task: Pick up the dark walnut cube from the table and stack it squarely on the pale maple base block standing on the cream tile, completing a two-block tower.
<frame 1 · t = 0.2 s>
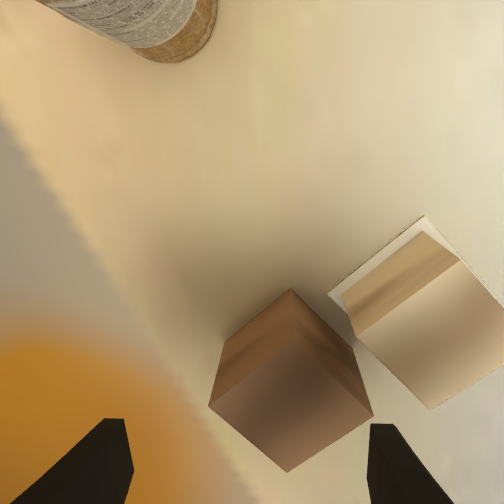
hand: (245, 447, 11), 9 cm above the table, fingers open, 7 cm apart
walnut block: (287, 345, 21), on the table
maple base: (411, 297, 19), resting on cream tile
sprinkles bottle: (167, 7, 16), on the table
cream tile: (410, 296, 19), on the table
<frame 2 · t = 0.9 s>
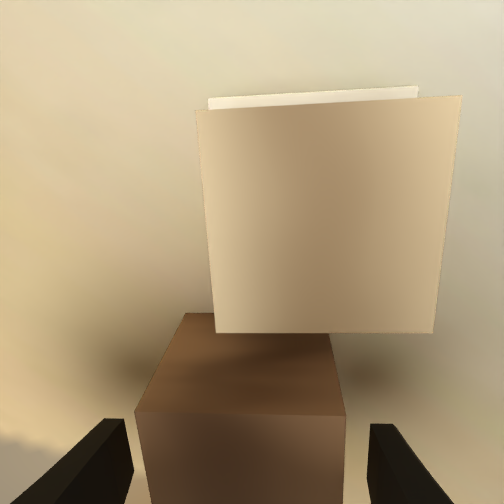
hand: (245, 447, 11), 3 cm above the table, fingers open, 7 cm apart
walnut block: (256, 369, 14), on the table
maple base: (310, 195, 12), resting on cream tile
cream tile: (310, 195, 12), on the table
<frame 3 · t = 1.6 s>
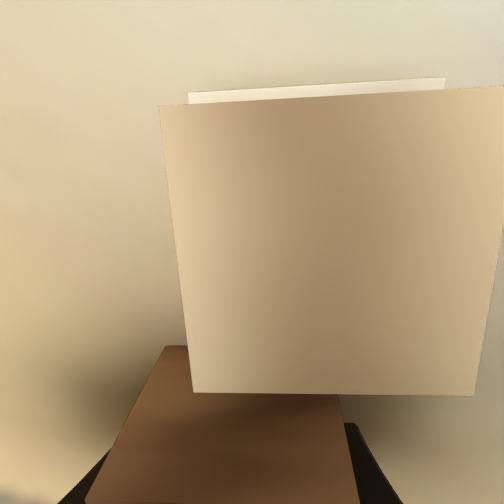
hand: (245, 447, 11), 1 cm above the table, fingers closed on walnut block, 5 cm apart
walnut block: (249, 411, 12), on the table, touching gripper
maple base: (312, 210, 10), resting on cream tile
cream tile: (312, 209, 10), on the table
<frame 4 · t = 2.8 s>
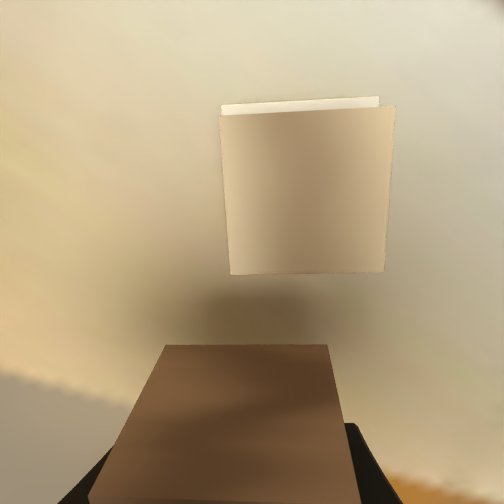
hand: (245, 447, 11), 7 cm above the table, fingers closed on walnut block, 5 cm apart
walnut block: (249, 410, 12), point 6 cm above the table, touching gripper
maple base: (299, 179, 15), resting on cream tile
cream tile: (299, 179, 15), on the table
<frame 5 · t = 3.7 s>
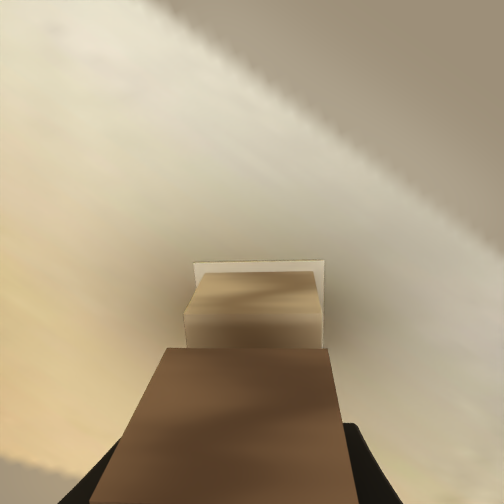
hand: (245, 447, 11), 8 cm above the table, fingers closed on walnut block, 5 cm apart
walnut block: (249, 412, 12), point 6 cm above the table, touching gripper
maple base: (260, 320, 18), resting on cream tile
cream tile: (260, 318, 18), on the table
when the fingers open (7 cm above the table, at t = 4.3 s): walnut block drops 1 cm, resting on maple base.
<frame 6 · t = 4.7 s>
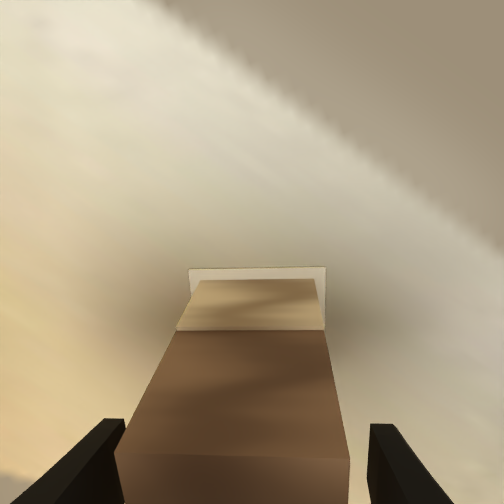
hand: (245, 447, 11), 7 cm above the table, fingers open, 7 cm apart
walnut block: (252, 391, 13), point 4 cm above the table, touching maple base
maple base: (258, 329, 17), resting on cream tile, touching walnut block
cream tile: (259, 328, 17), on the table
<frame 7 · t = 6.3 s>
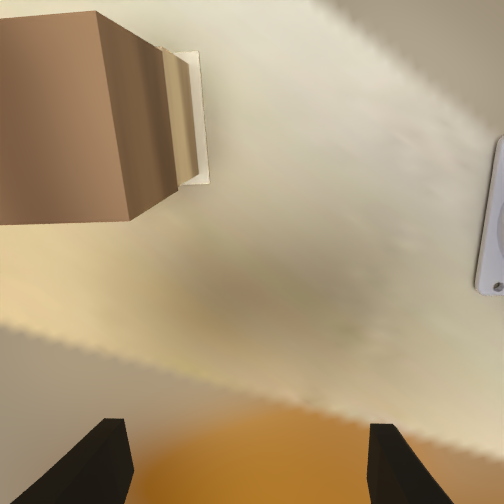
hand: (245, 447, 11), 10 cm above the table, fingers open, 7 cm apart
walnut block: (107, 128, 14), point 4 cm above the table, touching maple base
maple base: (143, 124, 18), resting on cream tile, touching walnut block
cream tile: (144, 124, 18), on the table
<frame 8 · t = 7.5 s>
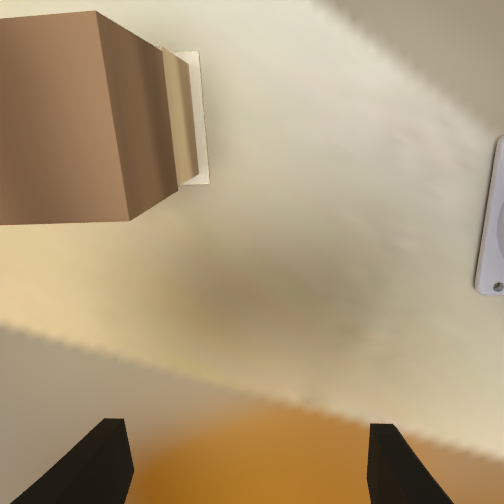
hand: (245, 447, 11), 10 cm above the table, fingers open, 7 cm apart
walnut block: (107, 128, 14), point 4 cm above the table, touching maple base
maple base: (143, 124, 18), resting on cream tile, touching walnut block
cream tile: (144, 124, 18), on the table
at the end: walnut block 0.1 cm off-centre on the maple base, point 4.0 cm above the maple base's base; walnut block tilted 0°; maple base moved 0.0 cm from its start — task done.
